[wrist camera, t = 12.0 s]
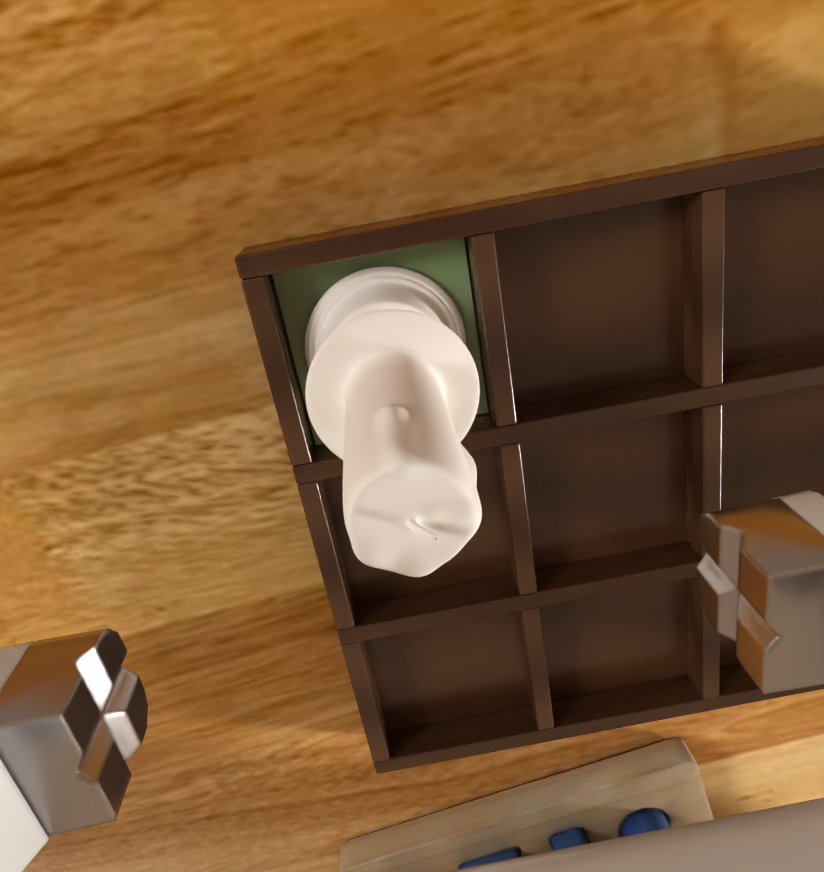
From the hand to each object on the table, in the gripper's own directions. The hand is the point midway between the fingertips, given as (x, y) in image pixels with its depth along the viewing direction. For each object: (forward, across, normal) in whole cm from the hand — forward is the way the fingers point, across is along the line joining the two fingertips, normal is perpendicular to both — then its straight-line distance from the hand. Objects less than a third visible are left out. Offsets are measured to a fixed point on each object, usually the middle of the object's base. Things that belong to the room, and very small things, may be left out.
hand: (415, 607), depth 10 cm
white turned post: (+14, 0, +1) cm, 15 cm away
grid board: (+15, -7, +8) cm, 18 cm away
